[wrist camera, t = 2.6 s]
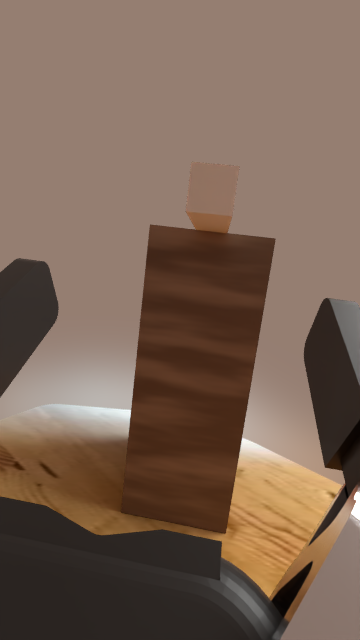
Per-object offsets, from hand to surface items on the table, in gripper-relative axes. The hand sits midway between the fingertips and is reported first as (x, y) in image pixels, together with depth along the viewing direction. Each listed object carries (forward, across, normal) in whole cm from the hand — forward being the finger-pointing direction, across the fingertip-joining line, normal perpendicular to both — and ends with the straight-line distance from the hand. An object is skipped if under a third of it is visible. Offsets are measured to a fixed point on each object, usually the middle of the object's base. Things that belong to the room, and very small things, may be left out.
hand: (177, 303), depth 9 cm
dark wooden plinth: (+12, 0, +39) cm, 41 cm away
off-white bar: (+24, 0, +8) cm, 25 cm away
